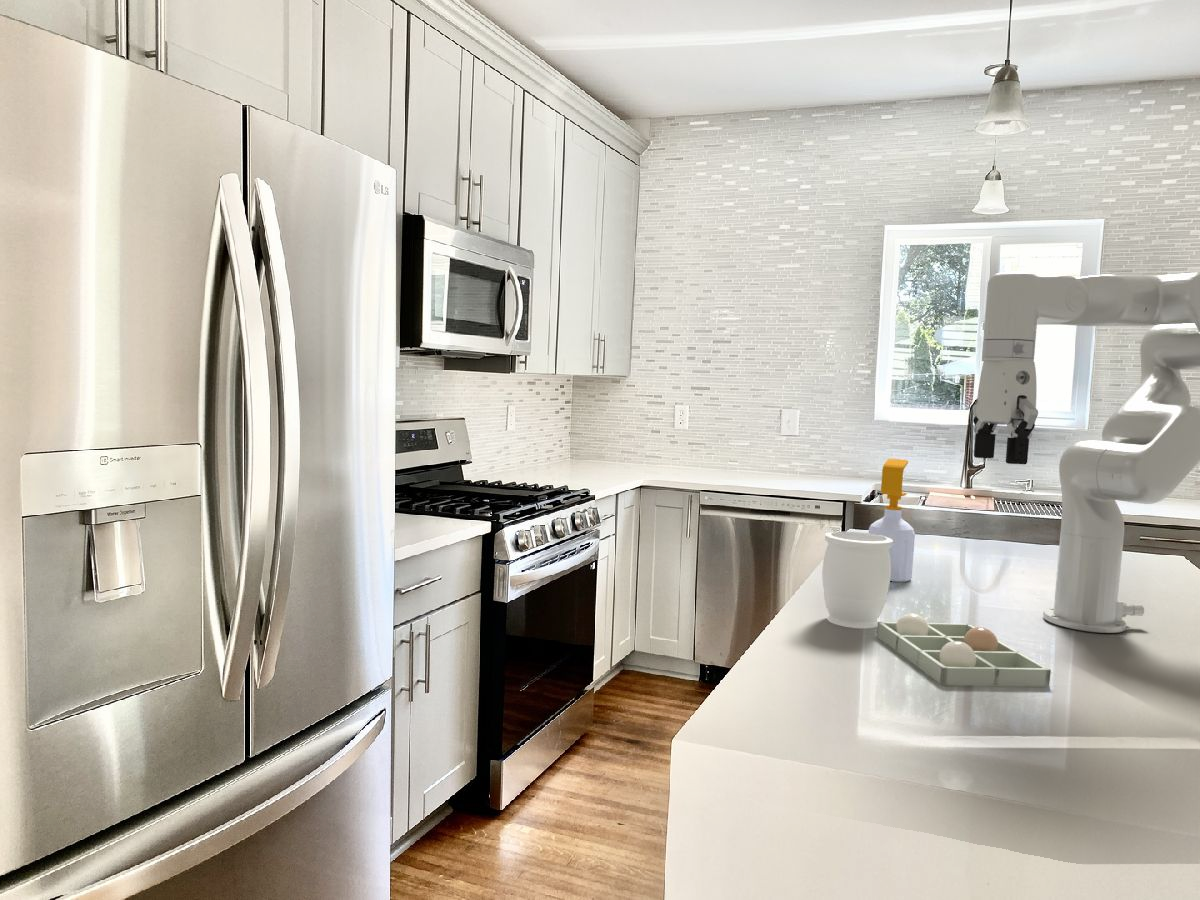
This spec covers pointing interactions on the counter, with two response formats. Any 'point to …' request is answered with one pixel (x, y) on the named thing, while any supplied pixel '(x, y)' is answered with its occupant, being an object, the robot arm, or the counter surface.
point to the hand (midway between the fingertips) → (999, 460)
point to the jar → (856, 577)
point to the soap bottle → (895, 522)
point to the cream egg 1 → (912, 625)
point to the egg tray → (988, 670)
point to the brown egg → (981, 639)
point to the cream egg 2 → (957, 655)
